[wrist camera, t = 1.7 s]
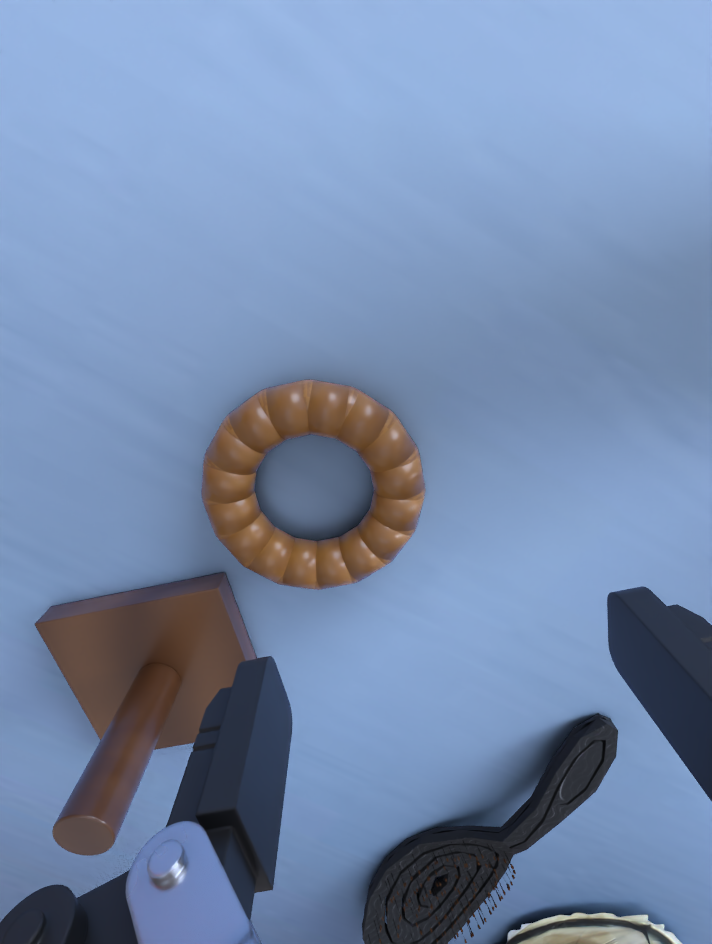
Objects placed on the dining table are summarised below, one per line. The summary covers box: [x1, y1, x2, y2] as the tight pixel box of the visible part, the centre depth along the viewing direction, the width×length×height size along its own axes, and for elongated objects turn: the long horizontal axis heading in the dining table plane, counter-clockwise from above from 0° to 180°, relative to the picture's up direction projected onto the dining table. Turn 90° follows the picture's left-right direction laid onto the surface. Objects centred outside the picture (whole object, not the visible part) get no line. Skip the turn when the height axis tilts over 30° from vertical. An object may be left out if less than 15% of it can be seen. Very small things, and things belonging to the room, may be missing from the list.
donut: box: [201, 379, 425, 590], centre depth 22 cm, size 10×10×2 cm
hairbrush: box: [362, 714, 618, 944], centre depth 31 cm, size 8×4×25 cm
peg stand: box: [35, 573, 257, 855], centre depth 23 cm, size 10×10×10 cm
